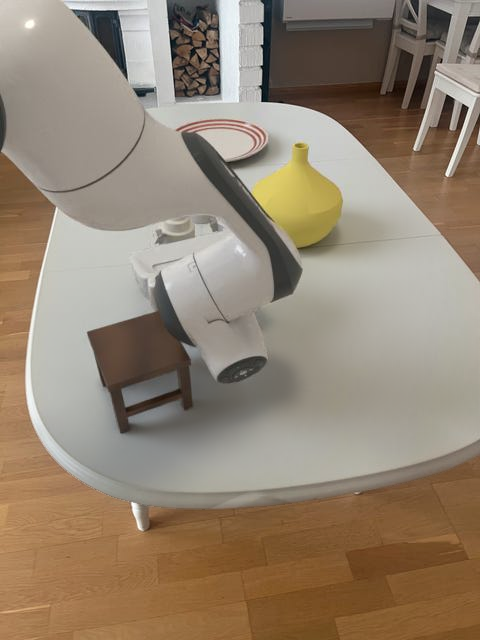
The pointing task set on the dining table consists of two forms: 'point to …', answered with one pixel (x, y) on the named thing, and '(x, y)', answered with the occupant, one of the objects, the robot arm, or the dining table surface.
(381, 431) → the dining table surface
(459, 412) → the dining table surface
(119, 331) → the brown wooden stool
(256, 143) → the dinner plate
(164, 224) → the bottle
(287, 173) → the vase
